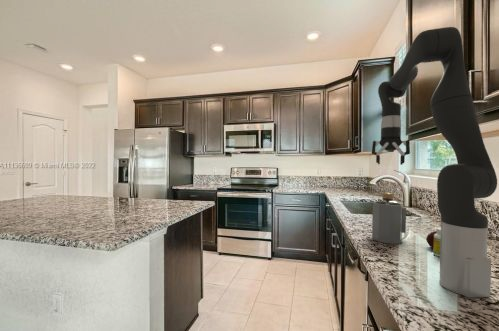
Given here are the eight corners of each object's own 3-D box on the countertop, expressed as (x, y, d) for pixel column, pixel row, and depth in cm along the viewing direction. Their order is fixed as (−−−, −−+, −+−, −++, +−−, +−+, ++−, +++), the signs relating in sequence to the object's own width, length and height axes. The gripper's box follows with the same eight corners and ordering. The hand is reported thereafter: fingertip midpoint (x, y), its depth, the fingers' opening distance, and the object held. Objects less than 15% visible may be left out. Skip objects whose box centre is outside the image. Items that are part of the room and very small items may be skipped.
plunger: (402, 238, 100) (403, 194, 100) (383, 238, 99) (385, 194, 99) (389, 232, 108) (390, 192, 108) (371, 232, 108) (372, 192, 108)
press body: (414, 244, 99) (415, 205, 99) (382, 244, 98) (383, 205, 98) (395, 235, 110) (396, 201, 110) (366, 236, 109) (367, 201, 109)
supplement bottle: (432, 255, 87) (433, 228, 87) (434, 251, 91) (434, 226, 91) (451, 259, 83) (452, 232, 83) (452, 255, 87) (453, 229, 87)
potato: (455, 250, 93) (455, 232, 93) (443, 253, 89) (444, 234, 89) (433, 244, 99) (433, 227, 99) (422, 247, 96) (422, 229, 96)
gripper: (409, 127, 104) (408, 164, 104) (372, 129, 111) (371, 164, 111) (411, 125, 97) (410, 164, 97) (372, 127, 104) (371, 164, 104)
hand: (389, 164), depth 104 cm, fingers open, 8 cm apart
